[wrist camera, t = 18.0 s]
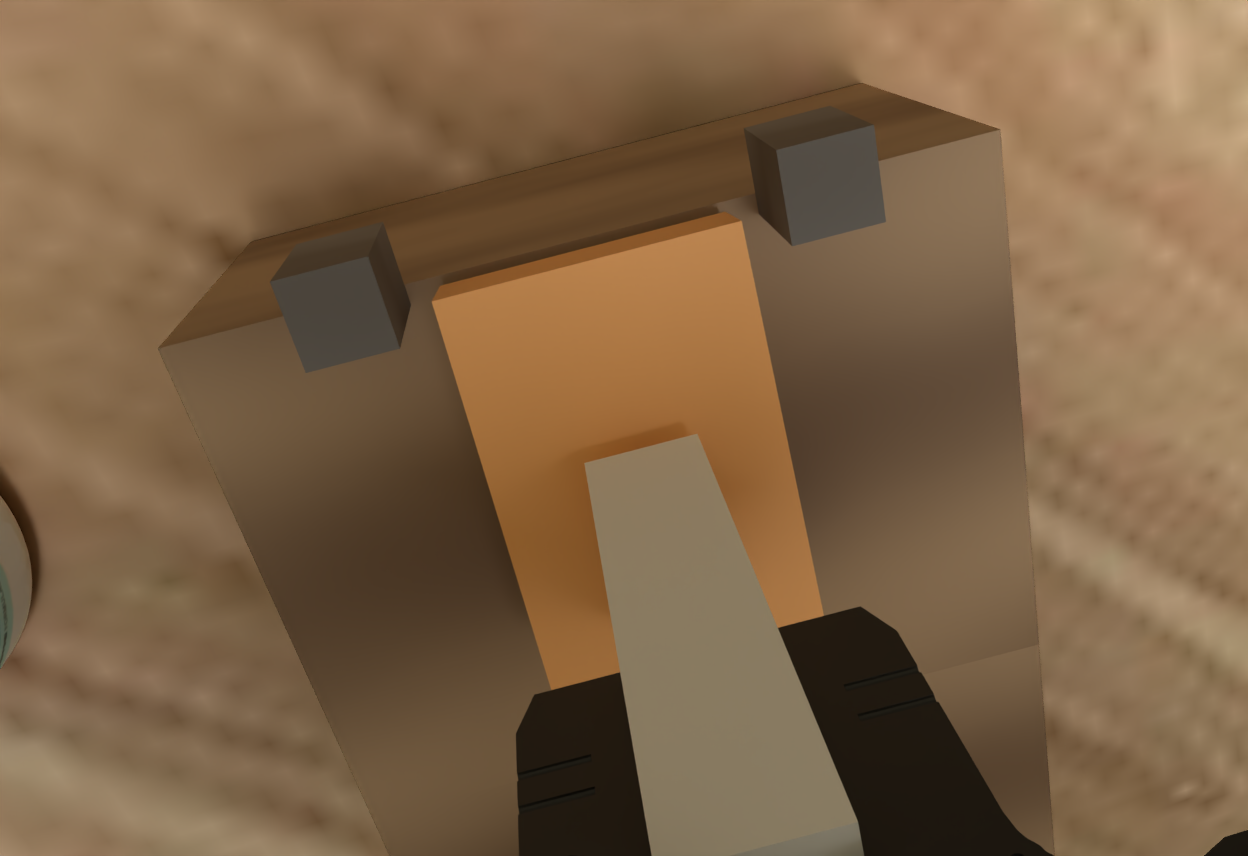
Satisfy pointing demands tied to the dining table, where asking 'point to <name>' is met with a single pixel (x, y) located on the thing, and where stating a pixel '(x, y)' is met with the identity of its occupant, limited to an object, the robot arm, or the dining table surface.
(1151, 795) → the dining table surface
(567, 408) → the plate
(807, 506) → the block
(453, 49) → the dining table surface
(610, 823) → the robot arm
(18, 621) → the pill bottle
